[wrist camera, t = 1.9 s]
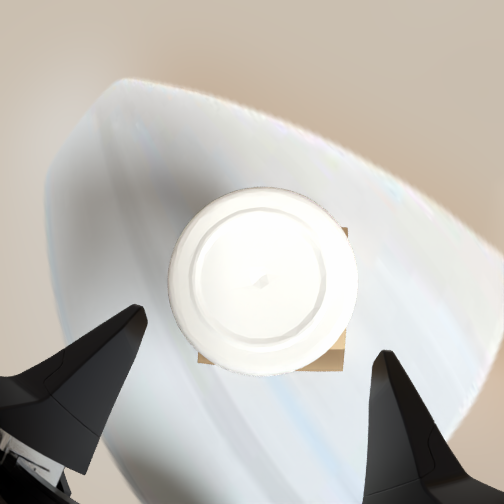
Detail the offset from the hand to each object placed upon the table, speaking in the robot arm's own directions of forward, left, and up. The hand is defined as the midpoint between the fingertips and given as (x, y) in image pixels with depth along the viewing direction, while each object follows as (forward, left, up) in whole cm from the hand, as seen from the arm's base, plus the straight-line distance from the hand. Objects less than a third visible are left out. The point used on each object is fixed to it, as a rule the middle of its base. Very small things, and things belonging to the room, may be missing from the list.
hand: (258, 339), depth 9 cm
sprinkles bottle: (+2, 0, -10) cm, 10 cm away
